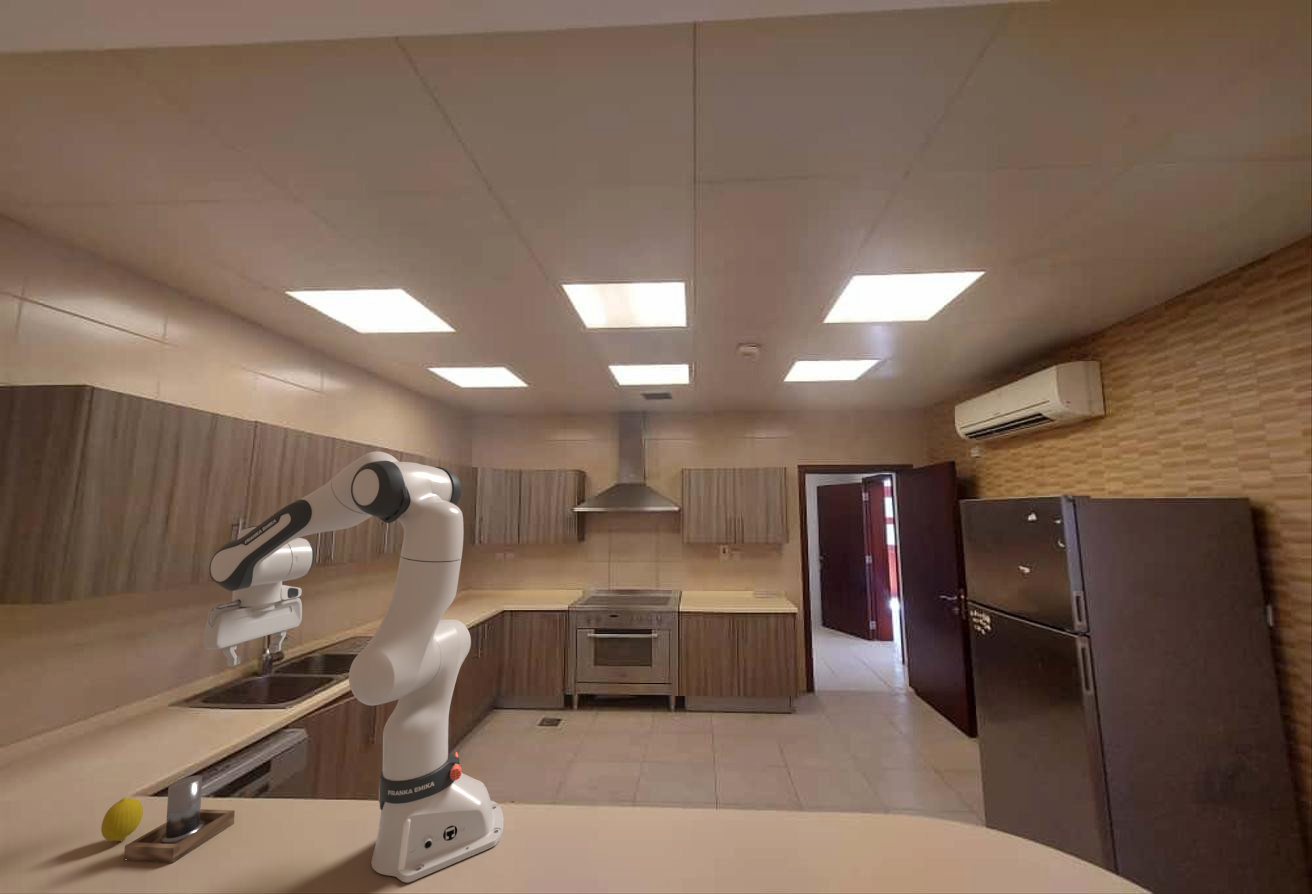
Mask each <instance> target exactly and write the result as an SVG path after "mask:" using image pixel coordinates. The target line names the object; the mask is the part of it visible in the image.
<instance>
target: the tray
mask: <svg viewBox="0 0 1312 894" xmlns="http://www.w3.org/2000/svg"><path fill="white" fill-rule="evenodd" d="M200 820H202V821H204V827H202V828H201V829H199V830H198V831H196V832H194V833H193V834H191V835H189V836H188V837H186V838H185V839H183V840H181V841H180V842H178V843H176V844H161V837H162V835H163V834H164V833H166V822H164V823H163V824H161V825H159V826H157V827H155V828H154V829H152V830H150V831H148V832H147V833H145V834H143V835H141V836H140V837H138V838H137V839H135V840H133V841H130V842H129V843H127V844H126V845H124V851H123V852H124V854H123V860H124V859H127V860H134V861H133V862H144V861H147V862H148V863H149V862H150V863H163V862H164V863H165V864H169V863H170V864H174V863H175V862H176V861H178V860H180V859H182V858H183V857H185V856H186V855H188V854H189V853H191V852H192V851H194V850H196V849H197V848H199V847H200V846H201V845H203V844H205V843H206V842H207V841H209V840H210V839H212V838H215V836H217V835H218V834H220V833H222V832H223V831H225V830H227V829H228V828H229V827H231V826H232V825H234V824H235V810H234V809H233V810H232V809H231V810H230V809H207V808H206V809H200Z"/></svg>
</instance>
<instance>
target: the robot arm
mask: <svg viewBox="0 0 1312 894" xmlns="http://www.w3.org/2000/svg"><path fill="white" fill-rule="evenodd" d="M461 495H462V484H461V480H460V479H459V477H458V476H457V474H456V473H454V471H453V472H452V471H451V470H449V469H447V468H444V467H440V466H431V465H426V464H421V463H417V462H413V461H412V462H410V461H399V460H398V459H397V458H396V457H394V456H393V455H392V454H389V453H387V452H384V451H379V450H376V451H371V452H368V453H365V454H364V455H362V456H360V457H358V458H357V459H355V460H354V461H351V462H350V463H349V464H348V465H347V466H345V467H344V468H343V469H342V470H339V472H338V473H337V474H335V476H334V477H333V478H331V479H330V480H328V481H327V482H326V483H325V484H323V485H322V486H320V487H319V488H317V489H315V490H314V491H312V492H311V493H309V494H307V495H305V496H303V497H302V498H300V499H297V500H295V501H293V502H291V503H289V504H288V505H286V506H284V507H282V508H281V509H280V510H278V511H276V512H275V513H274V514H272V515H271V516H270V517H267V519H265V520H264V521H262V522H261V523H260V524H259V525H251V526H249V527H245V528H244V529H242V530H240V531H239V534H238V536H237V539H234V540H231V541H228V542H226V543H225V544H224V545H222V546H221V547H220V548H219V549H218V550H217V551H216V552H215V553H214V555H213V556H212V558H211V559H210V560H211V561H210V562H209V569H208V570H209V575H210V577H211V579H212V581H213V582H215V583H216V584H217V585H218V586H220V587H222V588H223V589H225V590H226V591H229V592H230V591H231V592H232V598H231V599H232V600H230V601H228V602H221V603H217V604H216V605H215V606H214V607H212V608H211V609H210V610H209V611H208V613H207V621H206V624H205V628H204V634H203V641H202V645H203V647H204V648H205V649H206V650H208V651H209V650H211V651H212V650H214V651H215V650H221V652H222V653H223V655H224V657H225V658H226V659H227V660H226V665H227V667H235V666H237V665H240V664H241V663H242V662H241V661H242V660H241V659H242V656H241V655H237V653H236V652H235V650H237V649H238V648H237V647H238V644H242V643H243V644H244V643H246V642H248V641H249V642H250V641H253V640H257V639H260V638H262V637H267V636H269V635H270V636H271V635H273V637H274V639H273V641H272V644H269V645H268V653H269V654H276V653H279V652H280V651H281V650H282V644H283V641H284V640H285V638H286V637H287V630H291V629H294V628H298V627H299V626H300V624H301V623H302V619H303V603H302V600H301V598H300V597H301V596H302V593H303V592H302V588H301V587H296V586H290V585H285V584H283V582H286V581H291V580H293V581H294V580H297V579H300V578H303V577H306V576H307V575H308V574H309V573H310V572H311V571H312V569H313V567H314V565H315V563H316V558H317V557H316V555H317V553H316V549H315V546H314V545H313V544H312V543H311V541H309V540H308V539H306V538H304V537H305V536H310V535H314V534H321V533H328V532H334V531H335V532H336V531H339V530H340V531H341V530H346V529H350V528H353V527H355V526H358V525H360V524H361V523H363V522H364V521H367V520H368V519H370V518H371V517H376V518H378V519H380V521H382V522H383V523H386V524H391V523H394V522H395V521H399V523H400V524H401V526H402V528H403V541H402V545H401V550H400V557H399V562H398V569H397V574H396V579H395V582H394V583H395V584H394V589H393V593H392V597H391V599H390V602H389V605H388V607H387V609H386V612H385V613H384V614H385V615H384V616H383V618H382V621H380V624H379V626H378V627H377V629H376V631H375V633H374V634H373V636H372V637H371V639H370V641H369V642H368V643H367V644H366V646H365V647H364V648H363V649H362V650H360V652H359V653H358V654H357V655H356V656H355V658H354V659H353V661H352V663H351V665H350V666H349V667H350V668H349V673H348V684H349V687H350V690H351V693H352V694H353V696H354V697H355V698H356V700H358V702H359V703H361V704H363V705H366V706H371V707H372V706H378V705H379V706H380V705H383V704H387V703H391V702H394V701H397V700H398V701H397V704H396V706H395V707H394V709H393V712H392V713H391V714H390V716H389V717H388V719H387V720H386V723H385V725H384V727H383V731H382V771H381V773H380V776H379V782H378V803H379V809H380V817H379V824H378V825H379V826H378V832H377V836H376V842H375V846H374V850H373V854H372V855H371V856H372V857H371V862H370V863H371V867H372V869H373V870H374V871H375V872H376V873H378V874H380V875H384V876H392V877H396V878H397V879H398V880H399V881H401V882H403V883H407V884H408V883H411V882H414V881H417V880H418V879H421V878H423V877H426V876H428V875H430V874H432V873H435V872H438V871H441V870H442V869H444V868H447V867H449V866H451V865H454V864H456V863H458V862H461V861H463V860H466V859H468V858H471V857H472V856H475V855H477V854H480V853H482V852H484V851H486V850H489V849H491V848H493V847H495V846H496V845H497V844H498V843H499V842H500V840H501V838H502V836H503V834H504V828H505V821H504V820H505V819H504V813H503V809H502V808H501V806H500V804H498V803H497V802H496V801H494V800H491V798H490V794H489V791H488V788H487V786H486V785H485V783H484V782H482V781H481V780H478V779H476V778H473V777H472V776H470V775H467V774H465V773H463V772H462V771H463V769H462V765H461V763H460V758H459V754H458V752H457V751H455V755H454V754H452V753H450V752H449V718H450V716H449V715H450V707H451V702H452V698H453V694H454V690H455V687H456V686H455V685H456V684H457V683H456V682H457V679H458V675H459V673H460V670H461V666H462V665H463V663H464V662H465V659H466V658H467V656H468V654H469V652H470V650H471V645H472V639H471V634H470V631H469V629H468V628H467V626H466V625H465V624H464V622H462V621H460V620H458V619H456V618H455V619H454V618H453V619H452V618H450V619H449V618H444V619H442V618H443V616H444V614H445V613H446V612H447V610H448V608H449V607H450V606H451V605H452V604H453V602H454V600H455V598H456V596H457V591H458V585H459V584H458V583H459V578H460V571H461V565H462V563H461V562H462V559H463V558H462V557H463V551H464V550H463V548H464V535H465V534H464V532H465V531H464V516H463V512H462V510H461V508H460V507H459V506H457V505H458V504H459V503H460V502H459V501H460V499H461Z"/></svg>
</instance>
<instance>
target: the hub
mask: <svg viewBox="0 0 1312 894" xmlns="http://www.w3.org/2000/svg"><path fill="white" fill-rule="evenodd" d="M202 784H203V776H202V775H198V774H197V775H191V776H187V777H184V778H181V779H179V780H177V781H175V782H172V783H171V784H170V785H169V786H168V788H167V789H168V791H167V792H168V793H167V807H166V808H167V809H166V822H165V823H166V833H164V834H163V835H162V837H161V844H176V843H178V842H180V841H181V840H183V839H185V838H186V837H188V836H189V835H191V834H193V833H194V832H196V831H198V830H199V829H201V828H202V827H204V821H202V820H200V809H201V805H202V786H203V785H202Z"/></svg>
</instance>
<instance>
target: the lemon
mask: <svg viewBox="0 0 1312 894" xmlns="http://www.w3.org/2000/svg"><path fill="white" fill-rule="evenodd" d="M143 813H144V810H143V805H142V803H141V801H140V800H139V799H137V798H134V797H122V798H121V799H120V800H119V801H118V802H115V803H114V804H113V805H112V806H111V807H109V809H108V810H107V811H106V813H105V815H104V816H103V820H102V823H101V829H100V830H101V835H102V837H103V838H104V839H105V840H107V841H111V842H118V841H121V840H123V839H124V840H125V839H126V838H127V837H128V836H130V835H131V834H132V833H134V832H135V831H136V829H137V828H138V827H139V825H140V824H141V821H142V819H143ZM124 840H123V841H124ZM121 842H122V841H121Z"/></svg>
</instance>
